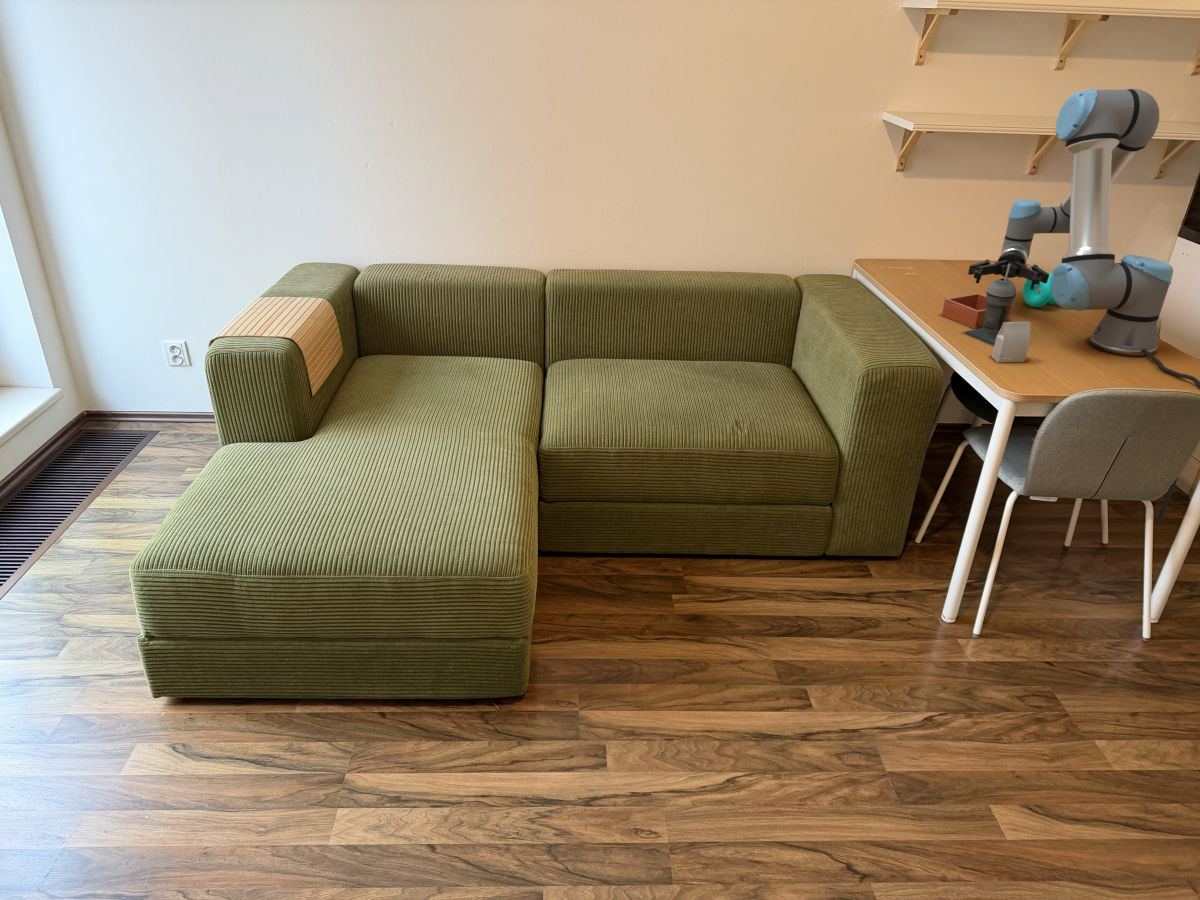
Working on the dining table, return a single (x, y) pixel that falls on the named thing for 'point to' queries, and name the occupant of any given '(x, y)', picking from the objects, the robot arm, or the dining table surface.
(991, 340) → the pad
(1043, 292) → the donuts
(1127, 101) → the robot arm
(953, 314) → the open reddish-brown box
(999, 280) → the beverage cup
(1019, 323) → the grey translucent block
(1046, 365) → the dining table surface
